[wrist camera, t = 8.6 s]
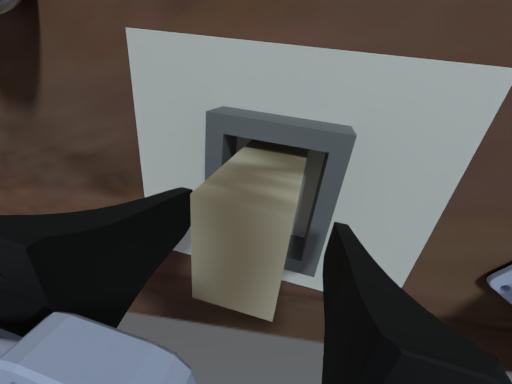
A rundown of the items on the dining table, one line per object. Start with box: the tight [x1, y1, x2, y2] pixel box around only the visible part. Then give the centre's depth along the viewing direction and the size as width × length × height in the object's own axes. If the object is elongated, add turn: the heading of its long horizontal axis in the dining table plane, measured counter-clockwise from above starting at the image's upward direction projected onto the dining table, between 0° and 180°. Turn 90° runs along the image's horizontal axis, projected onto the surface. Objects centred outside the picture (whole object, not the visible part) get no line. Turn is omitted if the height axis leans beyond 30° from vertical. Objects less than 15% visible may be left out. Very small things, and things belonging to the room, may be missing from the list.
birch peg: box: [190, 139, 309, 322], centre depth 12 cm, size 4×5×8 cm
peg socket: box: [126, 28, 512, 291], centre depth 15 cm, size 20×16×3 cm
